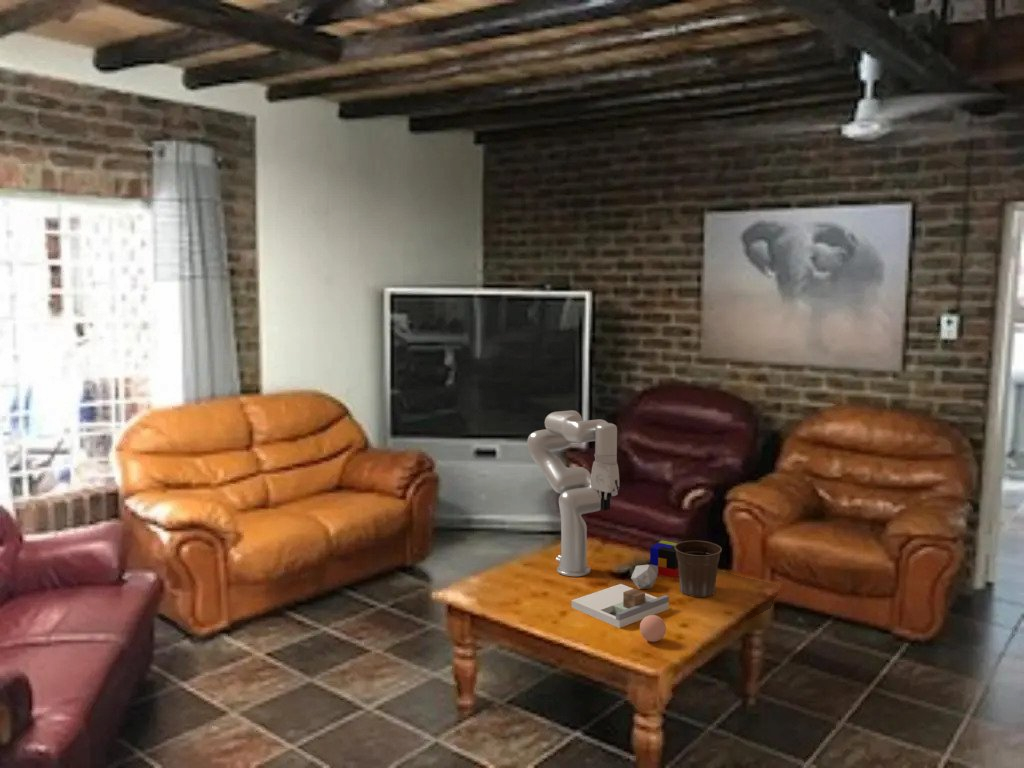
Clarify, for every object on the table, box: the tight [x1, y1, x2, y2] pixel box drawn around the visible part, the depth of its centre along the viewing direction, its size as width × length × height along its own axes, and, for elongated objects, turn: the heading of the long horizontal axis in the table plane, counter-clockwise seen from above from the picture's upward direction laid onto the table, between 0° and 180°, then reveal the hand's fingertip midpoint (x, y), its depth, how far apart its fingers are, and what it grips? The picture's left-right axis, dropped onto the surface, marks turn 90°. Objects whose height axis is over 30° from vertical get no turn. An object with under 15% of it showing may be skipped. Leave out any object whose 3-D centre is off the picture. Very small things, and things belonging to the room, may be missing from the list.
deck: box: [570, 583, 670, 629], centre depth 287 cm, size 22×24×4 cm
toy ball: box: [639, 614, 667, 643], centre depth 261 cm, size 8×8×8 cm
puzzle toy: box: [649, 540, 679, 579], centre depth 321 cm, size 10×10×10 cm
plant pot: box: [674, 540, 723, 598], centre depth 301 cm, size 16×16×16 cm
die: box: [630, 564, 658, 590], centre depth 306 cm, size 8×9×10 cm
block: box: [623, 588, 646, 609], centre depth 281 cm, size 5×5×5 cm
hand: (605, 509), depth 301 cm, fingers closed
